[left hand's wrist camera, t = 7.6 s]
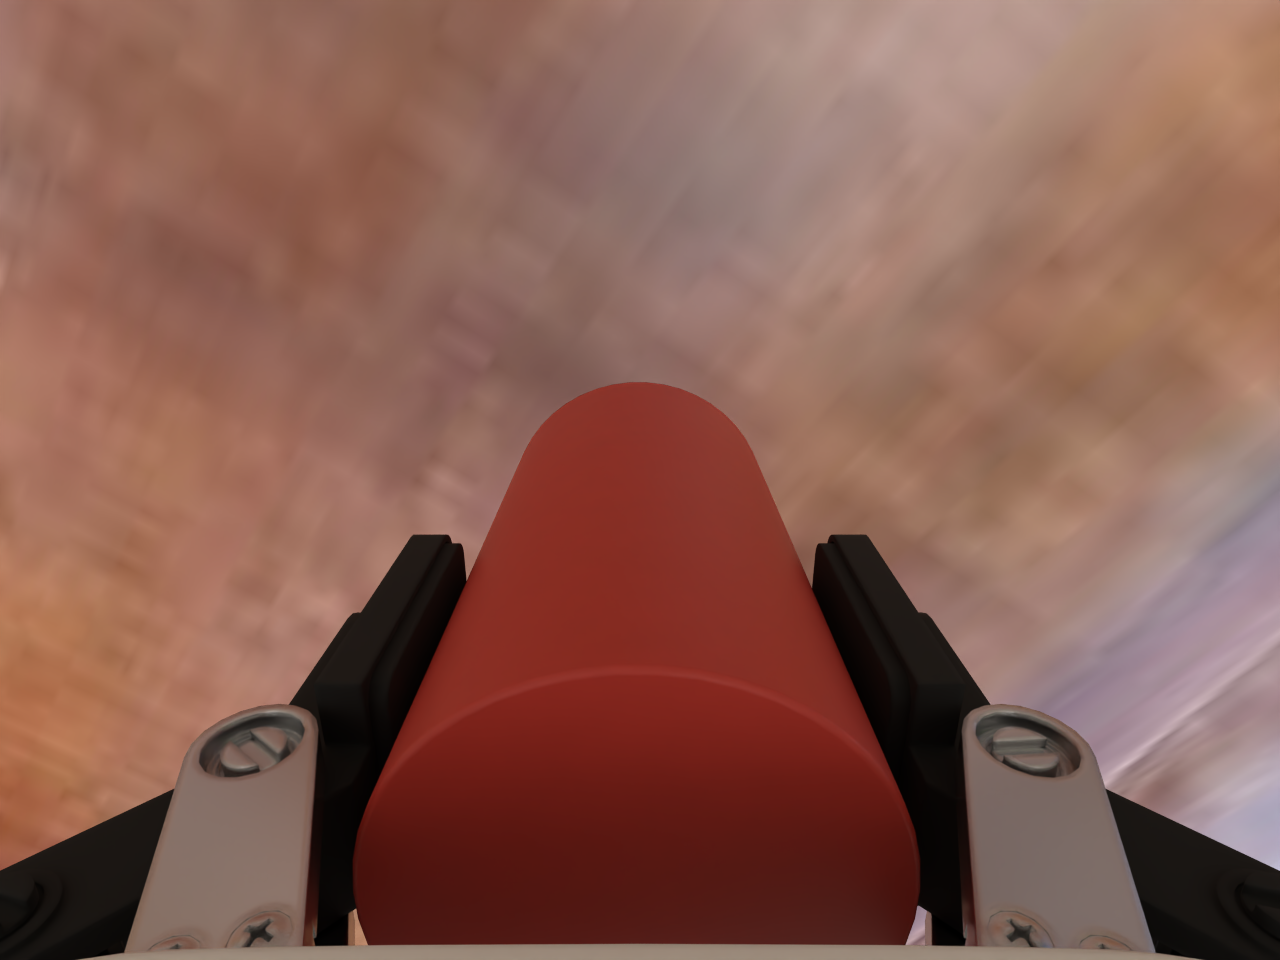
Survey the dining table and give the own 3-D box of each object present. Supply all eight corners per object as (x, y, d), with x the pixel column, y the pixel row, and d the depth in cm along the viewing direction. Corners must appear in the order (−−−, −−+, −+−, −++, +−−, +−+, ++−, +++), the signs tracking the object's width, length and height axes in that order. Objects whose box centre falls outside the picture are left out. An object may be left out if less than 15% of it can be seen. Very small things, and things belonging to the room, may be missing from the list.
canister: (650, 327, 15) (668, 544, 6) (811, 512, 17) (1032, 926, 7) (463, 491, 17) (230, 888, 7) (628, 650, 18) (615, 1152, 9)
